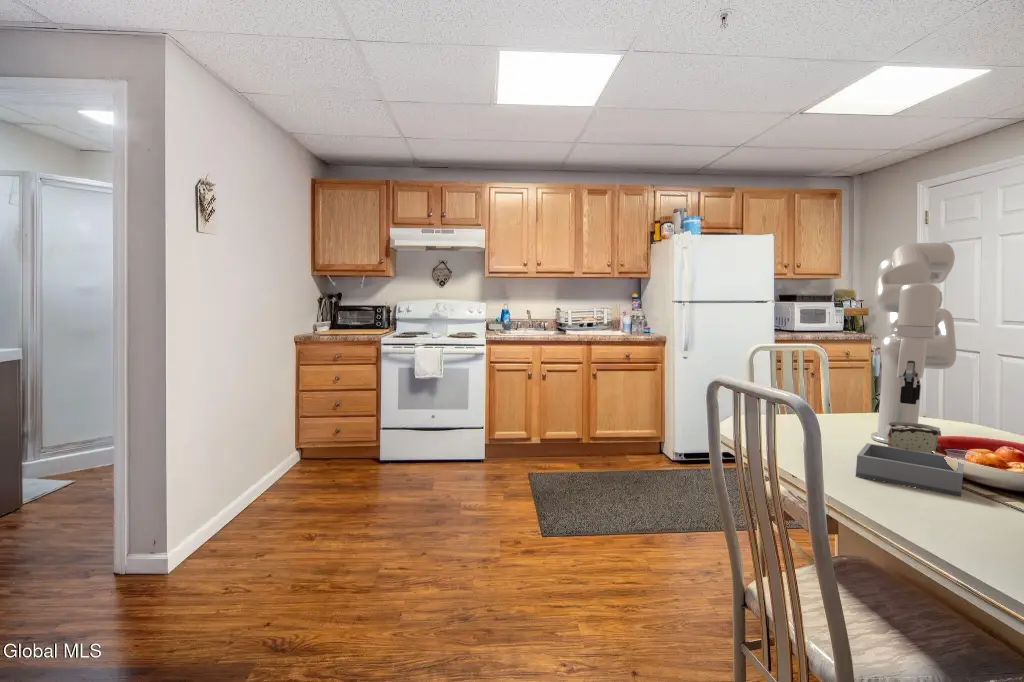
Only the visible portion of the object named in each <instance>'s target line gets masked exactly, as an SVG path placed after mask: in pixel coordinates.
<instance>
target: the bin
mask: <svg viewBox="0 0 1024 682" xmlns="http://www.w3.org/2000/svg"><path fill="white" fill-rule="evenodd" d="M946 456H948V457H951V458H957V459H962V460H964V461H965V458H962V457H957V456H950V455H943V454H939V453H938V454H937V453H935V454H932V453H926V452H920V451H913V450H907V449H901V448H895V447H889V446H888V445H887V446H886V445H881V444H875V443H869V442H867V443H865V445H864V446H863V448H862V449H861V450H860V451H859V452H858V454H857V455H856V467H855V477H856V476H859V478H862V477H864V478H863V479H867V478H870V479H869V480H872V479H875V480H874V481H877V480H879V481H878V482H882V481H885V482H884V483H887V482H889V483H888V484H892V483H894V484H893V485H897V484H899V485H898V486H902V485H905V486H904V487H908V486H910V487H909V488H913V487H916V488H915V489H918V488H920V489H919V490H923V489H926V490H925V491H928V490H930V491H929V492H933V491H934V492H935V493H939V494H944V495H950V496H954V497H960V498H962V492H963V491H962V490H963V489H962V487H963V478H964V465H965V463H964V464H961V463H959V462H958V468H957V471H954V470H953V469H952V468H951V467H950V466H949V465H948V464H947V462H946V460H945V459H944V457H946Z"/></svg>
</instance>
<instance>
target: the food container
mask: <svg viewBox="0 0 1024 682" xmlns="http://www.w3.org/2000/svg"><path fill="white" fill-rule="evenodd" d="M885 432H886V433H887V434H888V444H887V446H889V447H895V448H901V449H907V450H913V451H920V452H926V453H932V454H934V453H933V452H932V451H935V452H936V449H937V444H938V442H939V441H938V440H939V437H942V432H941V427H938V426H933V425H929V424H923V423H919V422H918V423H909V422H890V423H888V425H887V426H886V429H885Z"/></svg>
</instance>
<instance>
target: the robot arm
mask: <svg viewBox="0 0 1024 682" xmlns="http://www.w3.org/2000/svg"><path fill="white" fill-rule="evenodd" d="M955 256H956V255H955V251H954V248H953V247H952V246H951V245H950V244H948V243H945V242H915V243H913V242H912V243H905V244H902V245H900V246H898V247H896V248H895V250H894V251H893V253H892V254H891V257H888V258H886V259H884V260H882V261H881V262H880V264H879V266H878V268H877V281H876V283H875V288H874V304H875V307H876V309H877V310H878V311H880V312H882V313H886V330H887V332H888V334H889V335H887V336H886V335H885V337H883V338H882V340H881V342H880V362H881V382H880V395H879V409H878V423H877V432H872V433H871V434H870V438H871V439H872V440H874V441H877V442H879V443H884V444H887V445H888V434H887V433H886V432H885V429H886V426H887V425H888V423H890V422H909V423H918V424H919V416H920V407H921V395H922V394H921V392H922V383H921V379H922V378H923V376H924V372H925V369H931V370H947V369H950V368H952V367H953V366H954V365H955V363H956V359H957V345H956V344H957V343H956V333H955V332H956V331H955V330H956V329H955V322H954V317H953V314H952V313H951V311H949V310H948V309H946V308H941V307H942V303H943V292H942V291H941V290H940V289H939V287H938V286H936V284H937V285H938V284H941V283H944V282H945V281H946V280H947V278H948V276H949V274H950V272H951V271H952V269H953V267H954V265H955V259H956V258H955Z"/></svg>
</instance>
